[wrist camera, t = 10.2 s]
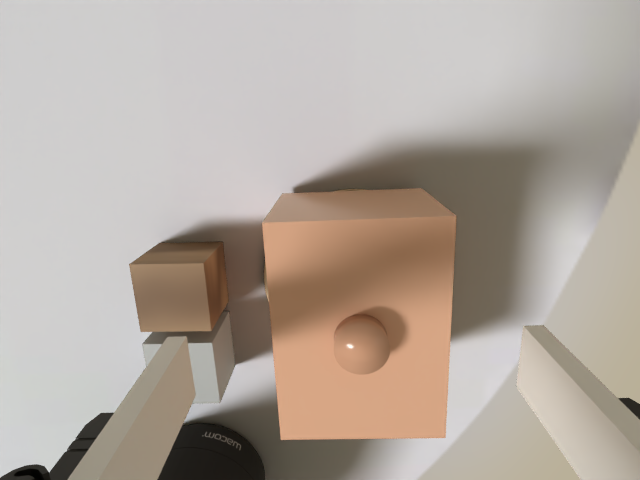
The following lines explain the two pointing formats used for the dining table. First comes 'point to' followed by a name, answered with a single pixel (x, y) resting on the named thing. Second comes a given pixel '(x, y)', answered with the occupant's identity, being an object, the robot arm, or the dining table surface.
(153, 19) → the dining table surface
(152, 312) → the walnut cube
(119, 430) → the robot arm
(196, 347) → the light gray cube
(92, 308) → the dining table surface
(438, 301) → the tan block with knob
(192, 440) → the pen holder
